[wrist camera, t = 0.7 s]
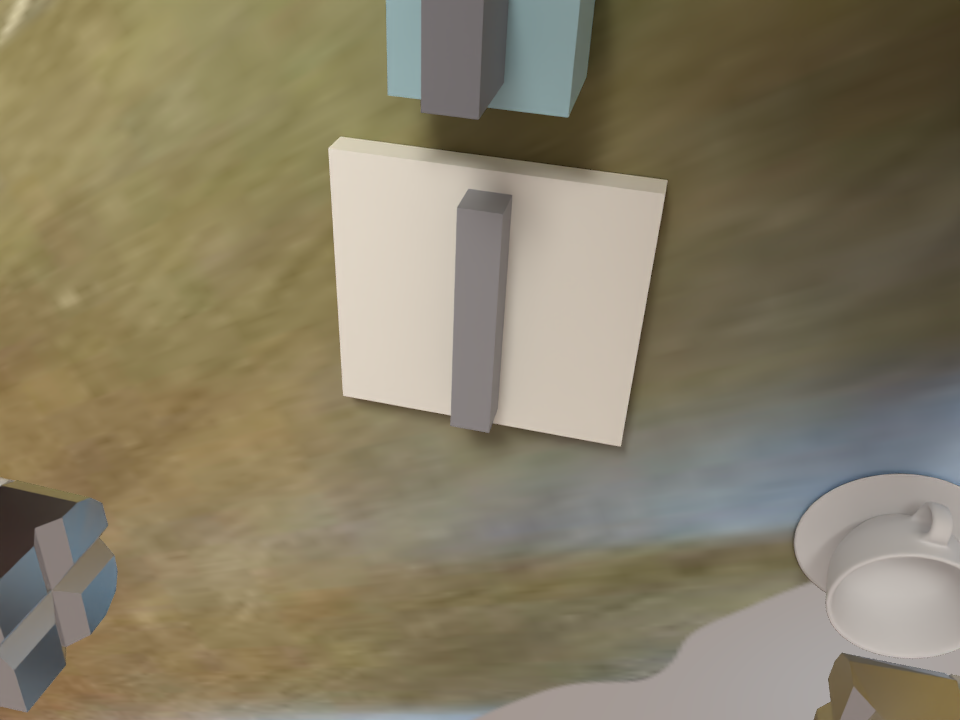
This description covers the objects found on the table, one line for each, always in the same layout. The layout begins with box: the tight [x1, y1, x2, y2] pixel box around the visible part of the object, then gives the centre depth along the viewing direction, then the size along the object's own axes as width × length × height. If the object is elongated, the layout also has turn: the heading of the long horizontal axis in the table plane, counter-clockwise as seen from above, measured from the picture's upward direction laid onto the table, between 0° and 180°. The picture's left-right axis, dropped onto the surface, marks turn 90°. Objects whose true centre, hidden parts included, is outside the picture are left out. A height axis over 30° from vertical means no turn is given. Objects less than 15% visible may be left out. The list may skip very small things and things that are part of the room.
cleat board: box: [328, 137, 668, 447], centre depth 42 cm, size 14×15×4 cm
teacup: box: [794, 474, 960, 659], centre depth 45 cm, size 10×10×5 cm
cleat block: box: [386, 0, 595, 120], centre depth 32 cm, size 6×7×9 cm
